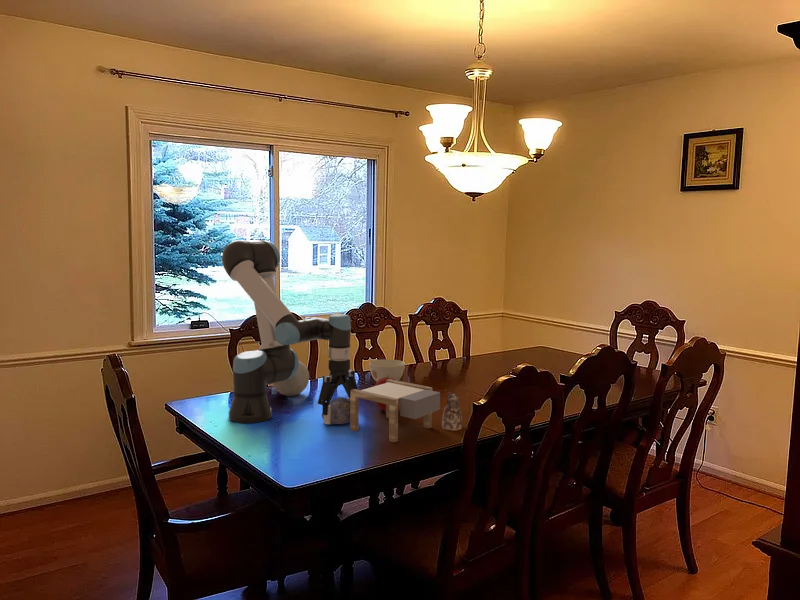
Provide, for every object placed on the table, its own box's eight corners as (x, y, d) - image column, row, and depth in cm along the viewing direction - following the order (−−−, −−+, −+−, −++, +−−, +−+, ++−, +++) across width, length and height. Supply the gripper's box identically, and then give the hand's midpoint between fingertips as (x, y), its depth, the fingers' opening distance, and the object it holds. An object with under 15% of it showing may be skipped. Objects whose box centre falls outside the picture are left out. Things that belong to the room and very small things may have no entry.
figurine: (445, 431, 212) (446, 396, 211) (438, 424, 219) (439, 391, 217) (465, 429, 214) (466, 395, 213) (457, 423, 221) (458, 390, 219)
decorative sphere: (298, 401, 246) (298, 364, 244) (265, 397, 251) (264, 361, 249) (315, 392, 260) (315, 357, 259) (283, 389, 265) (283, 354, 263)
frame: (393, 442, 200) (394, 399, 198) (350, 430, 211) (350, 390, 210) (431, 427, 216) (432, 387, 215) (389, 416, 228) (389, 379, 226)
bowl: (410, 388, 270) (410, 365, 269) (375, 391, 264) (376, 368, 263) (397, 379, 285) (397, 358, 284) (363, 382, 279) (364, 360, 278)
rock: (357, 410, 224) (349, 389, 219) (352, 431, 216) (343, 410, 211) (329, 413, 227) (320, 393, 222) (323, 434, 219) (313, 413, 213)
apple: (406, 410, 236) (406, 374, 234) (387, 416, 228) (387, 379, 227) (387, 405, 243) (387, 370, 241) (368, 410, 235) (368, 374, 234)
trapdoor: (412, 420, 197) (412, 401, 196) (358, 406, 211) (358, 389, 211) (441, 409, 210) (442, 391, 209) (388, 397, 224) (389, 380, 224)
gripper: (323, 365, 205) (322, 429, 208) (369, 355, 224) (368, 414, 226) (307, 362, 210) (306, 425, 213) (354, 352, 228) (353, 410, 231)
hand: (338, 419), depth 219 cm, fingers closed on rock, 11 cm apart
